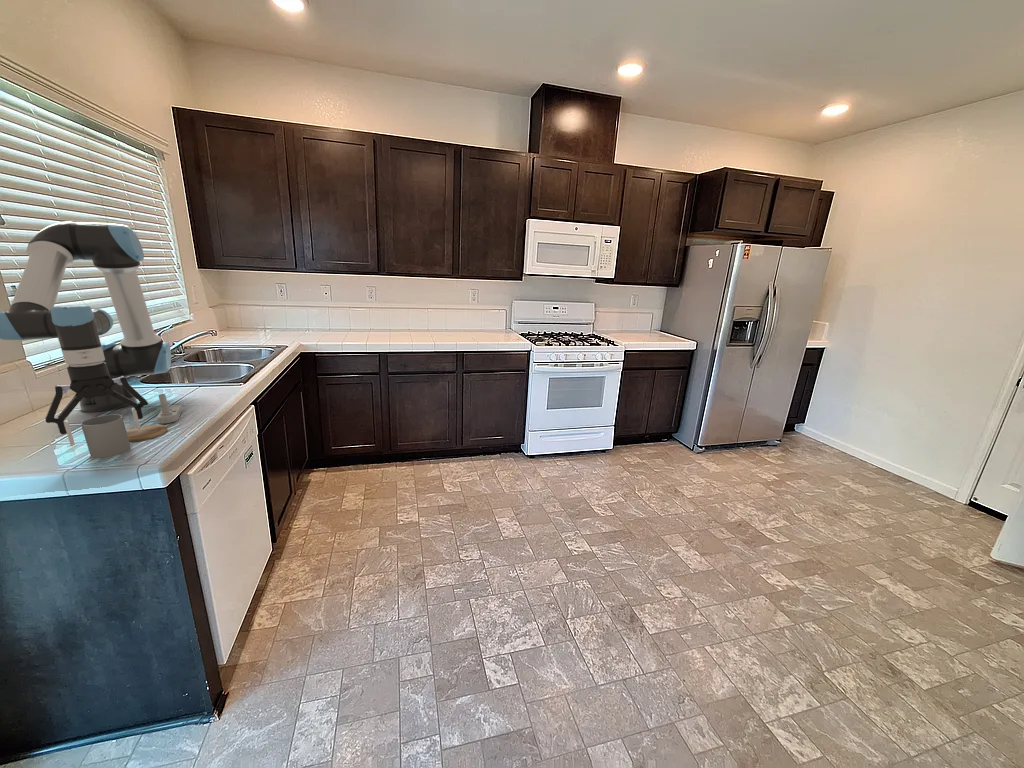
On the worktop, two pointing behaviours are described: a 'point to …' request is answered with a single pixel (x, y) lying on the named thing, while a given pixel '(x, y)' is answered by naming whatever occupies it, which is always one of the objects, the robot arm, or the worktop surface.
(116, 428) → the cup
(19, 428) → the worktop surface
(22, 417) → the worktop surface
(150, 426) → the plate
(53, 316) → the robot arm
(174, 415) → the electronic device
